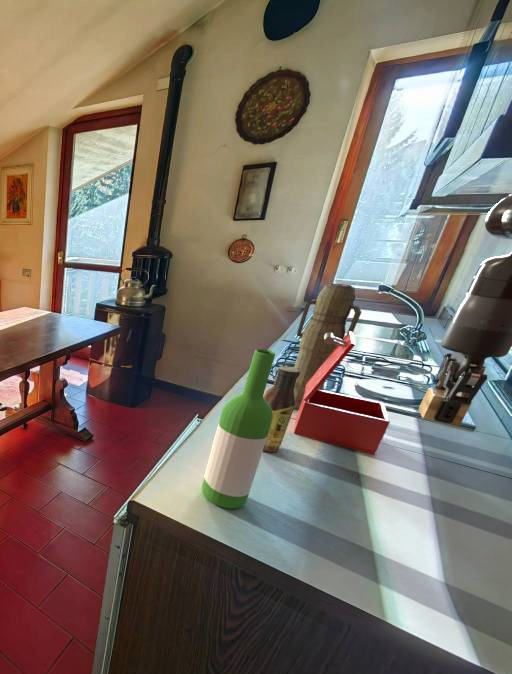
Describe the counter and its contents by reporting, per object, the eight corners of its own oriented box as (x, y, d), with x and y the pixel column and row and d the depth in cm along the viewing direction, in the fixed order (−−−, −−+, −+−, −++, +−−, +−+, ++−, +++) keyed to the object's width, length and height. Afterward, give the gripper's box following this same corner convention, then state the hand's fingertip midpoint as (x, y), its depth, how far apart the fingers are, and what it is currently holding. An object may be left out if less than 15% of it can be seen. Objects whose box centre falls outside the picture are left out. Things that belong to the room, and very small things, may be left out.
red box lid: (352, 333, 96) (330, 324, 98) (355, 344, 87) (330, 334, 89) (308, 386, 105) (289, 377, 107) (307, 401, 96) (285, 391, 98)
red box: (370, 433, 100) (383, 403, 96) (374, 455, 91) (390, 421, 87) (296, 415, 109) (306, 387, 105) (293, 433, 99) (304, 402, 96)
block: (453, 416, 71) (464, 393, 69) (459, 426, 68) (472, 402, 66) (418, 409, 73) (428, 387, 72) (422, 418, 70) (433, 395, 68)
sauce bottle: (272, 456, 89) (299, 376, 82) (243, 444, 94) (267, 368, 86) (283, 447, 93) (311, 370, 85) (255, 436, 98) (279, 362, 90)
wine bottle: (231, 485, 79) (273, 344, 68) (254, 511, 72) (305, 359, 61) (193, 484, 79) (229, 344, 68) (212, 511, 72) (256, 359, 60)
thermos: (321, 416, 108) (369, 289, 95) (272, 403, 116) (310, 283, 102) (326, 407, 114) (372, 285, 101) (279, 394, 122) (316, 280, 108)
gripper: (538, 337, 56) (481, 438, 63) (504, 319, 67) (458, 408, 74) (463, 328, 61) (416, 425, 67) (442, 313, 71) (404, 397, 78)
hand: (438, 415), depth 70 cm, fingers closed on block, 4 cm apart
